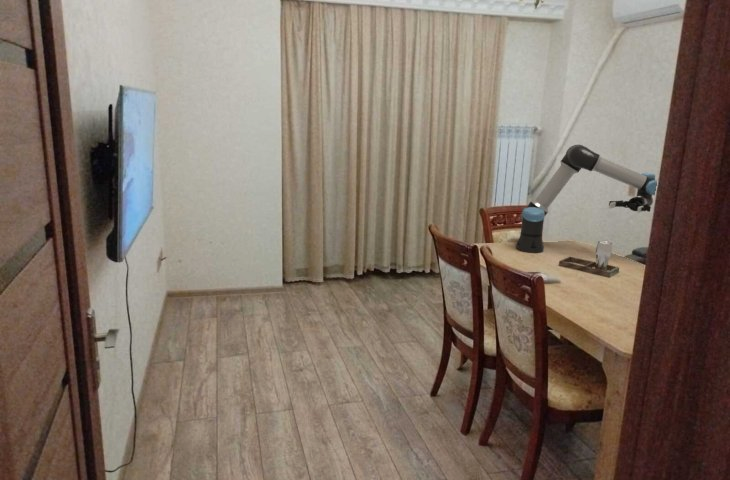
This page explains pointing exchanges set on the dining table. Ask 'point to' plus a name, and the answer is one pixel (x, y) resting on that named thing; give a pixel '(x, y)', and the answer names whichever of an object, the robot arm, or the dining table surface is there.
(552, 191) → the robot arm
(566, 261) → the two-cell rack
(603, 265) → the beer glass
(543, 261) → the dining table surface
